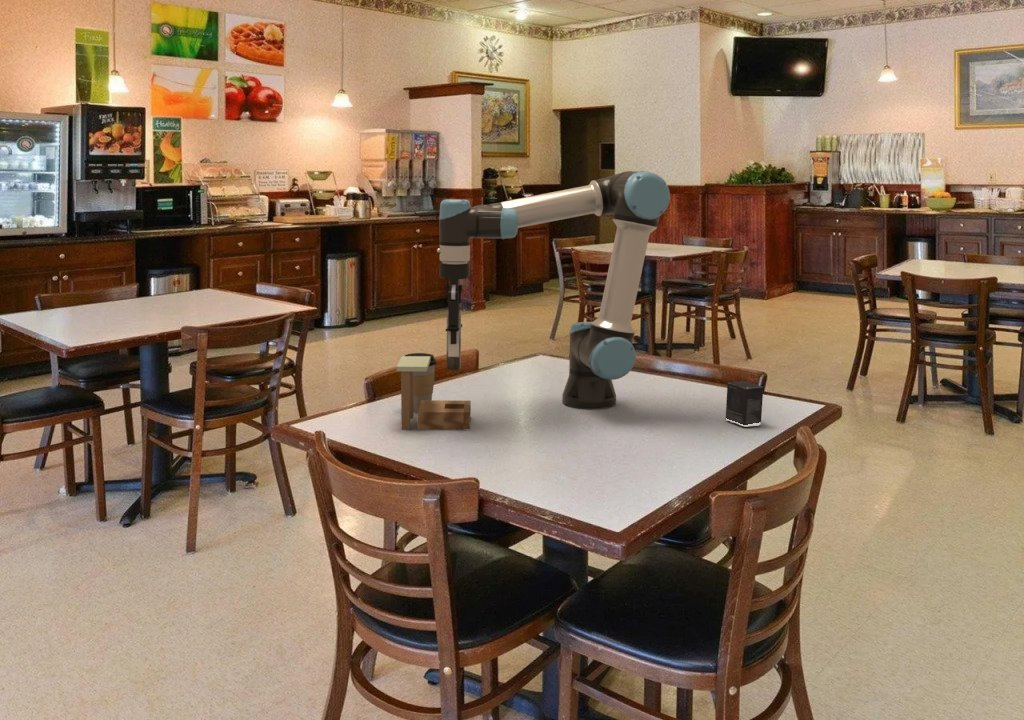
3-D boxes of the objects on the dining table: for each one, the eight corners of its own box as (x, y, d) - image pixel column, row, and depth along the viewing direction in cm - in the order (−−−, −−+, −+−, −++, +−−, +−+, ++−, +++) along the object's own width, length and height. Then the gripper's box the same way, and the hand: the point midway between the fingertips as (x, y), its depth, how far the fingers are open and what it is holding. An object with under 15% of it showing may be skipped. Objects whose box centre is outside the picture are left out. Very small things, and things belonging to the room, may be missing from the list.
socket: (470, 417, 247) (470, 400, 246) (469, 429, 235) (469, 412, 234) (421, 416, 247) (421, 400, 246) (417, 429, 235) (417, 412, 234)
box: (761, 426, 241) (764, 386, 239) (743, 428, 239) (746, 388, 237) (741, 418, 248) (744, 380, 246) (724, 421, 246) (726, 381, 244)
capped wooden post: (430, 416, 247) (430, 356, 244) (427, 429, 235) (426, 366, 231) (402, 416, 247) (401, 356, 244) (397, 429, 234) (396, 366, 231)
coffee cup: (431, 415, 248) (430, 360, 245) (397, 413, 250) (396, 358, 247) (440, 406, 257) (440, 353, 254) (408, 404, 259) (407, 351, 256)
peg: (460, 367, 240) (461, 313, 237) (460, 370, 236) (460, 315, 234) (446, 367, 240) (447, 313, 237) (446, 370, 236) (446, 315, 234)
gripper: (441, 258, 241) (440, 348, 245) (437, 265, 224) (437, 361, 229) (470, 259, 241) (469, 348, 246) (468, 265, 225) (467, 361, 229)
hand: (453, 354), depth 237 cm, fingers closed on peg, 3 cm apart
